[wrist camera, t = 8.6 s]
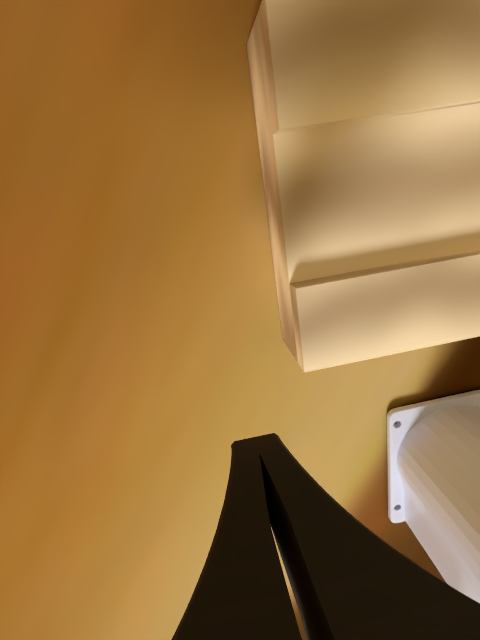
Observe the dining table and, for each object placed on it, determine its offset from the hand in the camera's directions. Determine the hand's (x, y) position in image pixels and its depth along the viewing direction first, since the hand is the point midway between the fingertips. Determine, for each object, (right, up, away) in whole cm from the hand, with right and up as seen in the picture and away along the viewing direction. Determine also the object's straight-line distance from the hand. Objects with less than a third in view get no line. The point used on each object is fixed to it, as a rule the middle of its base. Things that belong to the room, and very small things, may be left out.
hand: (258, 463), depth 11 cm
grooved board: (+9, +11, +7) cm, 16 cm away
